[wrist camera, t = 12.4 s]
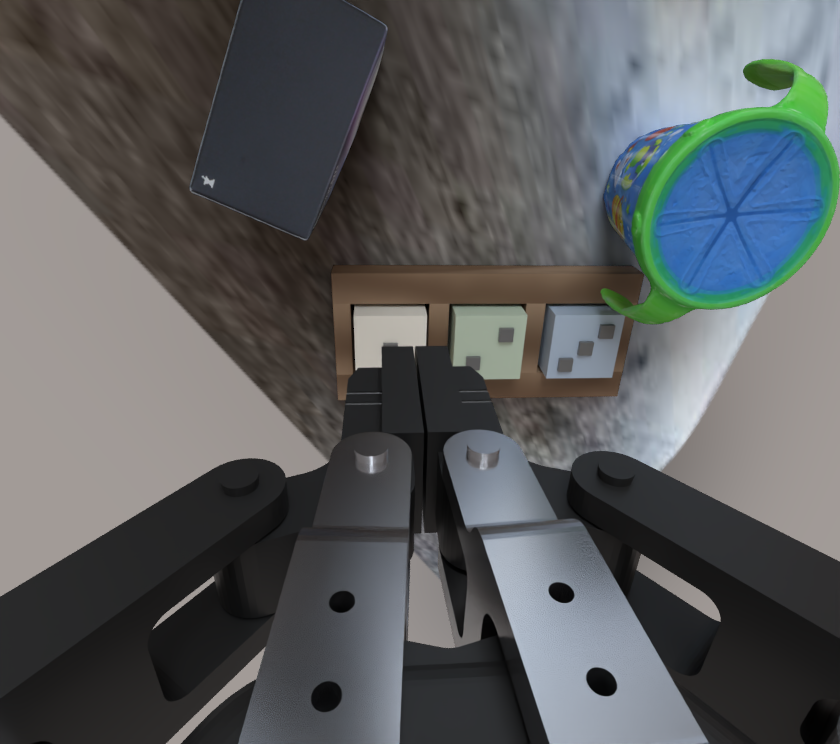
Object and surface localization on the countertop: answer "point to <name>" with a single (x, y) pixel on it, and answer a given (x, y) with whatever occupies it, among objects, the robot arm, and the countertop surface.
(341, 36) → the small box
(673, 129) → the snack cup
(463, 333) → the tile two
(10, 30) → the countertop surface
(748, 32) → the countertop surface
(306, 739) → the robot arm
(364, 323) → the tile one
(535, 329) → the board
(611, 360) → the tile three
